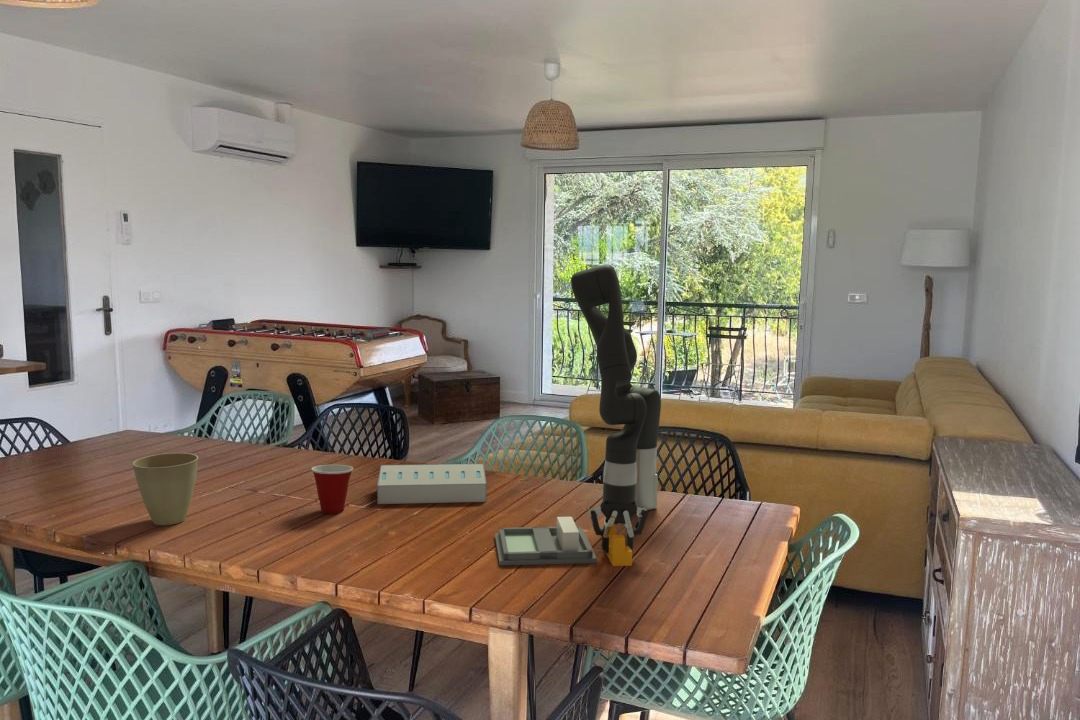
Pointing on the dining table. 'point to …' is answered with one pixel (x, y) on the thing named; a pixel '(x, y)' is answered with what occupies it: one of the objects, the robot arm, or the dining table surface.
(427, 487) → the warehouse
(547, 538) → the dock
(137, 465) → the plant pot
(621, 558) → the orange stepped block
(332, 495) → the plastic cup
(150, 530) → the dining table surface
